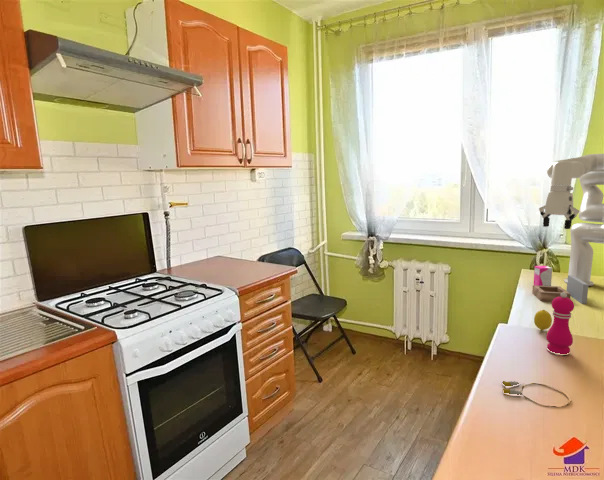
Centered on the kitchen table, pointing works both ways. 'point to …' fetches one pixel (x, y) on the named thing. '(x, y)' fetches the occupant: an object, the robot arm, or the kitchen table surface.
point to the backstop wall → (577, 289)
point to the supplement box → (542, 276)
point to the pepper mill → (560, 325)
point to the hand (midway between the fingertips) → (556, 227)
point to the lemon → (542, 320)
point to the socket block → (548, 292)
